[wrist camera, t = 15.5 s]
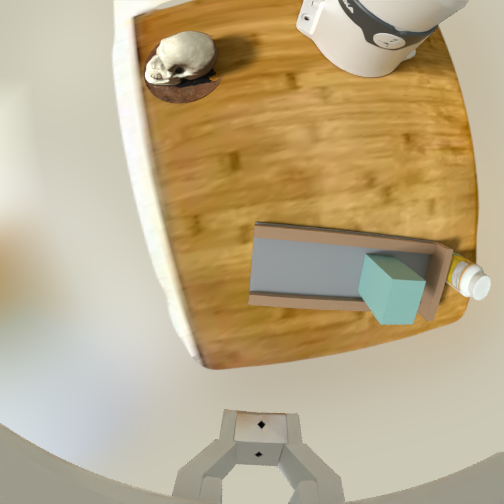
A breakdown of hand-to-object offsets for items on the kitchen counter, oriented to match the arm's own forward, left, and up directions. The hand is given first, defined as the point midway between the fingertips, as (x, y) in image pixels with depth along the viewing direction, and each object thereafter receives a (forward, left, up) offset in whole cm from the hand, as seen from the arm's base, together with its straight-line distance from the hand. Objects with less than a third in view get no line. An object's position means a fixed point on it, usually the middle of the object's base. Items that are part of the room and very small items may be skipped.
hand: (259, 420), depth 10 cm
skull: (-24, -13, -32) cm, 42 cm away
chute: (+4, +14, -31) cm, 34 cm away
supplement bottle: (+2, +33, -31) cm, 46 cm away
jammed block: (+4, +18, -31) cm, 36 cm away
